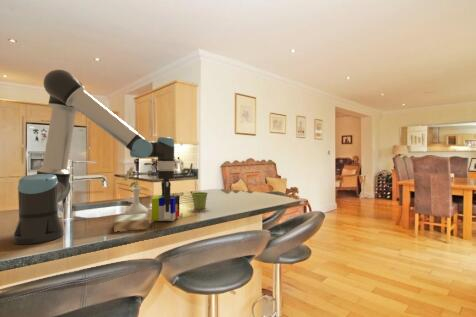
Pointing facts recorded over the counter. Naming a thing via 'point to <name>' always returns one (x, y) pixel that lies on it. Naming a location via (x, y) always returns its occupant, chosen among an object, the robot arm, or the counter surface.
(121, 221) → the plinth
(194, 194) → the plant pot
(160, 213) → the puzzle toy
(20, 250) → the counter surface
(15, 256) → the counter surface
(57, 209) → the robot arm
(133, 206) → the flower in vase
